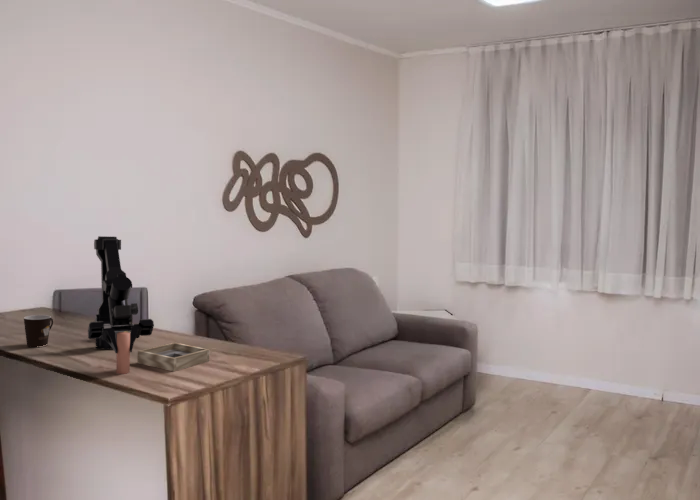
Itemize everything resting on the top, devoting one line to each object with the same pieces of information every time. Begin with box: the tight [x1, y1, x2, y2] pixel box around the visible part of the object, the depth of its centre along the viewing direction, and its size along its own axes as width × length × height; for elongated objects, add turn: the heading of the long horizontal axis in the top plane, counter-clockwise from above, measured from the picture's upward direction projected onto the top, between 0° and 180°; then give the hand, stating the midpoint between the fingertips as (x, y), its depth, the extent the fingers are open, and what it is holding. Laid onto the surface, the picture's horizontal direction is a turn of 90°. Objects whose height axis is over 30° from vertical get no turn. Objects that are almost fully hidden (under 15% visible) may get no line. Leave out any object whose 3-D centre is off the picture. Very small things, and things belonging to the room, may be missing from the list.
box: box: [137, 341, 211, 372], centre depth 204 cm, size 16×16×4 cm
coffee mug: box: [23, 314, 54, 348], centre depth 219 cm, size 12×9×10 cm
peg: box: [115, 332, 131, 375], centre depth 189 cm, size 4×4×12 cm
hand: (123, 352), depth 188 cm, fingers closed on peg, 4 cm apart
